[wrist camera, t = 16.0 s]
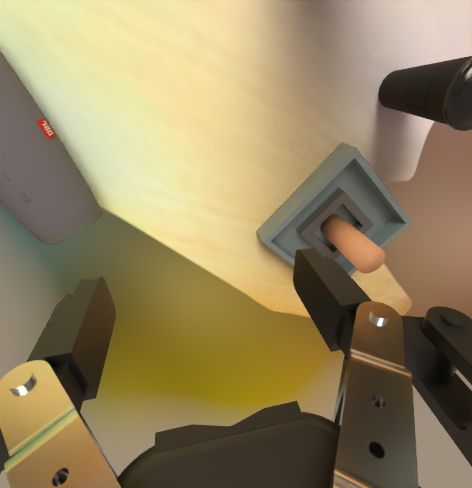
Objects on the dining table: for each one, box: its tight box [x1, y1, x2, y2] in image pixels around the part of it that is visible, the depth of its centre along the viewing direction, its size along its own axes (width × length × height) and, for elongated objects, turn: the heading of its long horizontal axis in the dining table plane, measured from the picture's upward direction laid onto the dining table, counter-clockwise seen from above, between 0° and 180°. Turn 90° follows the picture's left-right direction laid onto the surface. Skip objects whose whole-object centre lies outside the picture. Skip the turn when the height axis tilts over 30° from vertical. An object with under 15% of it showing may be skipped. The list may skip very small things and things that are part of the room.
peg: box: [320, 214, 385, 273], centre depth 45 cm, size 4×4×12 cm
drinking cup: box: [379, 56, 472, 131], centre depth 32 cm, size 8×8×20 cm
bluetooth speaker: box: [0, 52, 102, 245], centre depth 31 cm, size 23×9×10 cm, turn 18°
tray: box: [256, 143, 413, 276], centre depth 49 cm, size 20×20×4 cm
